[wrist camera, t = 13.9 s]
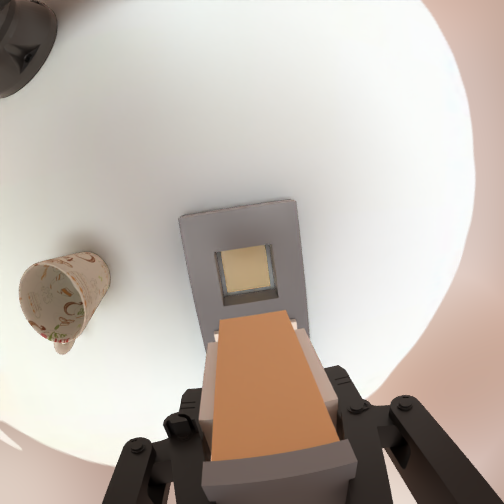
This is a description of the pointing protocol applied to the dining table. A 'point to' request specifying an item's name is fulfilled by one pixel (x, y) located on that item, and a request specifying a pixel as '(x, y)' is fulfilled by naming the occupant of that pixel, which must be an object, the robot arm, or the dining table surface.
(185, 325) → the dining table surface
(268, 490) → the plug
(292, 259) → the socket
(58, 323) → the mug
